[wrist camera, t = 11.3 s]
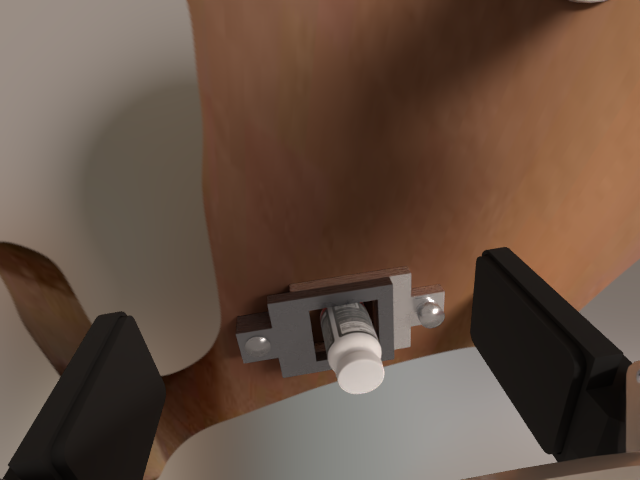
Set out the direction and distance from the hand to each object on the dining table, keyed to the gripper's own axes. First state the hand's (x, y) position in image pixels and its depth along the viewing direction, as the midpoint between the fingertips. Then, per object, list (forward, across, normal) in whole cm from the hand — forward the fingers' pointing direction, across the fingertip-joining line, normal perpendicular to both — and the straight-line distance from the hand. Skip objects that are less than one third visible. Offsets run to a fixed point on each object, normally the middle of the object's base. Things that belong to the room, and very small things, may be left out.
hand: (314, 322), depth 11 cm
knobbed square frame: (+28, -3, +24) cm, 37 cm away
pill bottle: (+28, -3, +23) cm, 37 cm away
